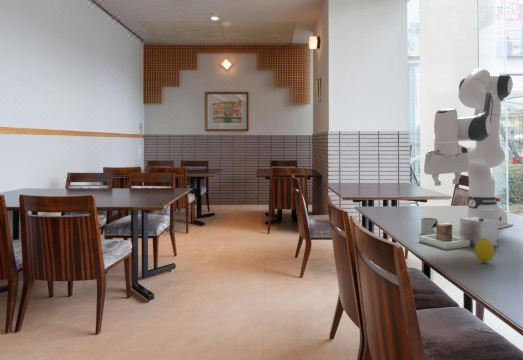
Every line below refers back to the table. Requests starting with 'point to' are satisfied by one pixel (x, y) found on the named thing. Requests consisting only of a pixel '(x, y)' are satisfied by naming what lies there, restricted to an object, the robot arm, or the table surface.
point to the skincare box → (490, 216)
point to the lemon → (484, 250)
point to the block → (444, 232)
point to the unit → (478, 230)
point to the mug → (428, 226)
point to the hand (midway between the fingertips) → (446, 184)
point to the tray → (455, 242)
